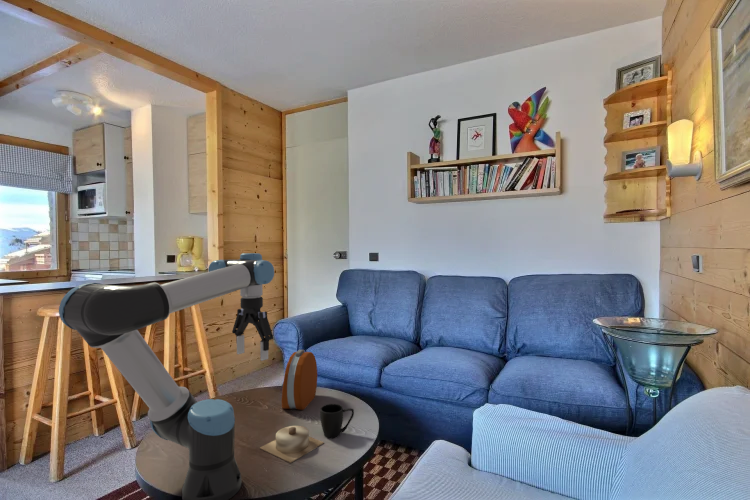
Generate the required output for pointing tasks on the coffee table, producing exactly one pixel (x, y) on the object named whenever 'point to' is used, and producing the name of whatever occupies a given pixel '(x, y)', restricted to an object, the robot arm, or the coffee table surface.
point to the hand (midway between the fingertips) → (252, 356)
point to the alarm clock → (299, 380)
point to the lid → (292, 439)
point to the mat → (293, 456)
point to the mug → (333, 419)
